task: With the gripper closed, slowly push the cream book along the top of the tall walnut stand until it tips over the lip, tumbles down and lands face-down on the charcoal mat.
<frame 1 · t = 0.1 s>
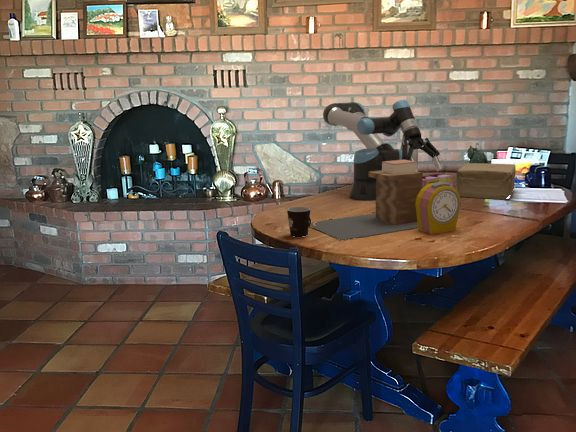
hand: (427, 171, 255), 15 cm above the table, tool tilted 35°, fingers open, 13 cm apart
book: (399, 171, 226), point 20 cm above the table, touching stand
alarm clock: (437, 230, 215), on the table
paper package: (485, 194, 281), on the table
stand: (393, 221, 230), resting on mat
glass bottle: (407, 181, 321), on the table
mat: (369, 224, 225), on the table
coffee mug: (299, 236, 210), on the table
ceramic cat: (477, 178, 325), on the table
gum box: (430, 206, 256), on the table
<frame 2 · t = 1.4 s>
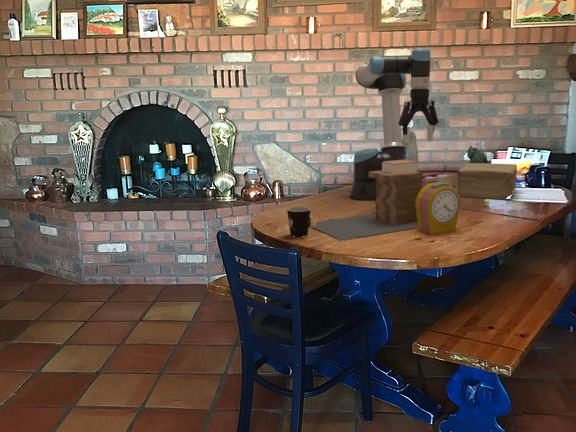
hand: (418, 141, 235), 30 cm above the table, tool pointing down, fingers open, 12 cm apart
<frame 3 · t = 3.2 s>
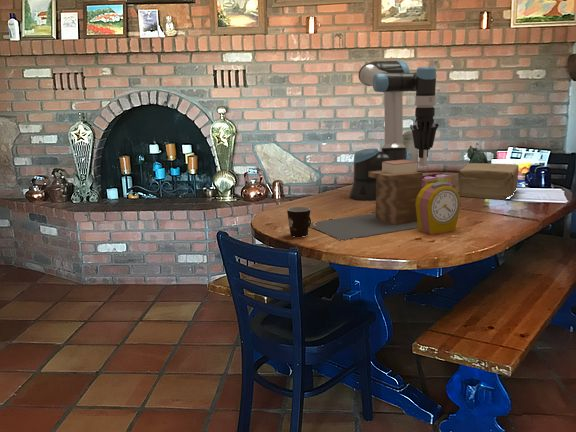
hand: (422, 165, 231), 21 cm above the table, tool pointing down, fingers closed
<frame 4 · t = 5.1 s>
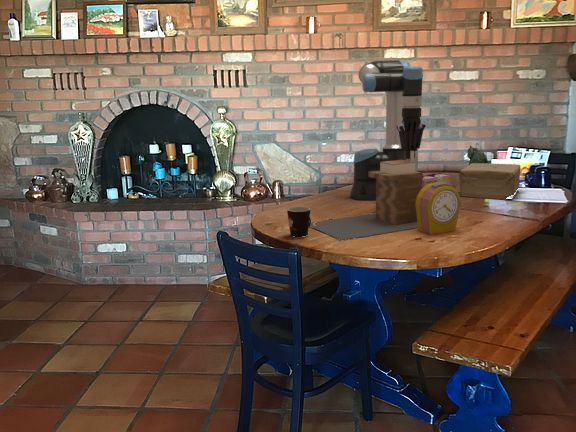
hand: (410, 166, 228), 21 cm above the table, tool pointing down, fingers closed
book: (397, 171, 226), point 20 cm above the table, touching gripper
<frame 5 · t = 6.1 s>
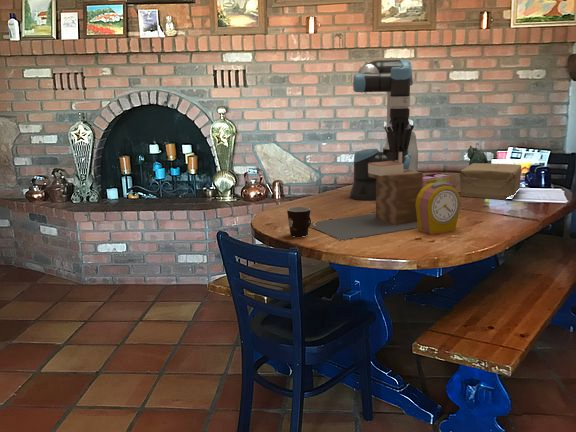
hand: (398, 168, 226), 22 cm above the table, tool pointing down, fingers closed
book: (385, 173, 223), point 20 cm above the table, touching gripper
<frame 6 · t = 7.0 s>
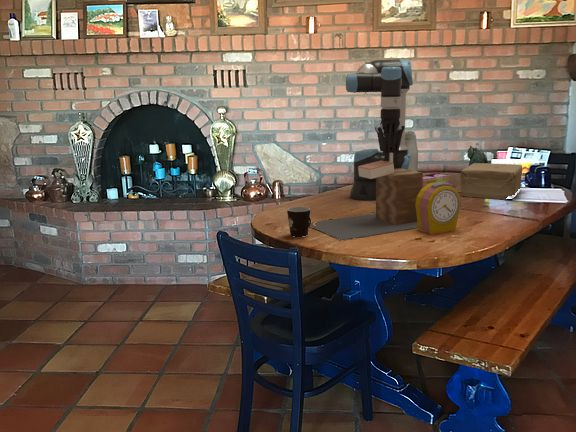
hand: (389, 169, 224), 21 cm above the table, tool pointing down, fingers closed
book: (376, 174, 221), point 20 cm above the table, tilted 7°, touching gripper
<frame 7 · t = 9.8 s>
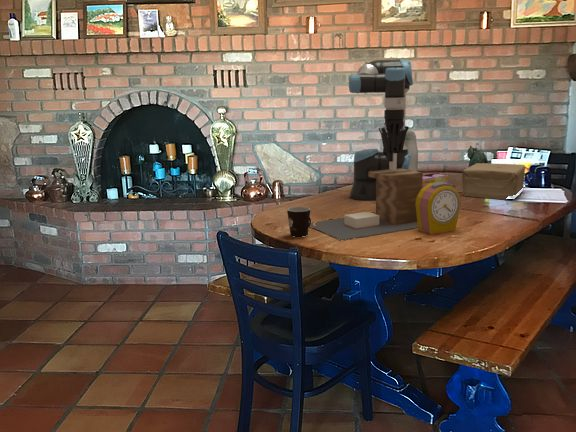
hand: (392, 169, 225), 21 cm above the table, tool pointing down, fingers closed
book: (361, 215, 222), point 4 cm above the table, tilted 180°, touching mat
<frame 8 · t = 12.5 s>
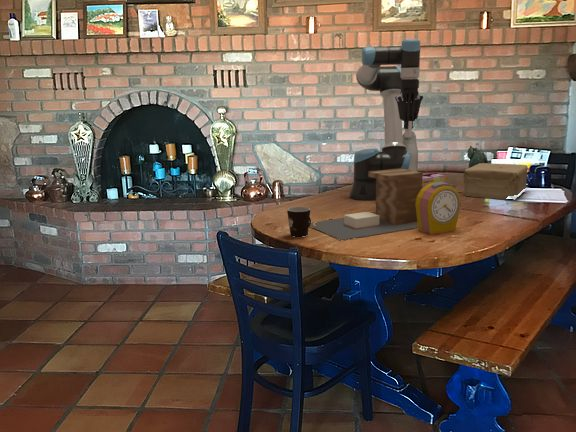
hand: (408, 136, 237), 32 cm above the table, tool pointing down, fingers closed
at the end: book tilted 180°; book point 4.4 cm above the table; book inside the target area (6.2 cm from its centre), point 4.4 cm above the table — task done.
